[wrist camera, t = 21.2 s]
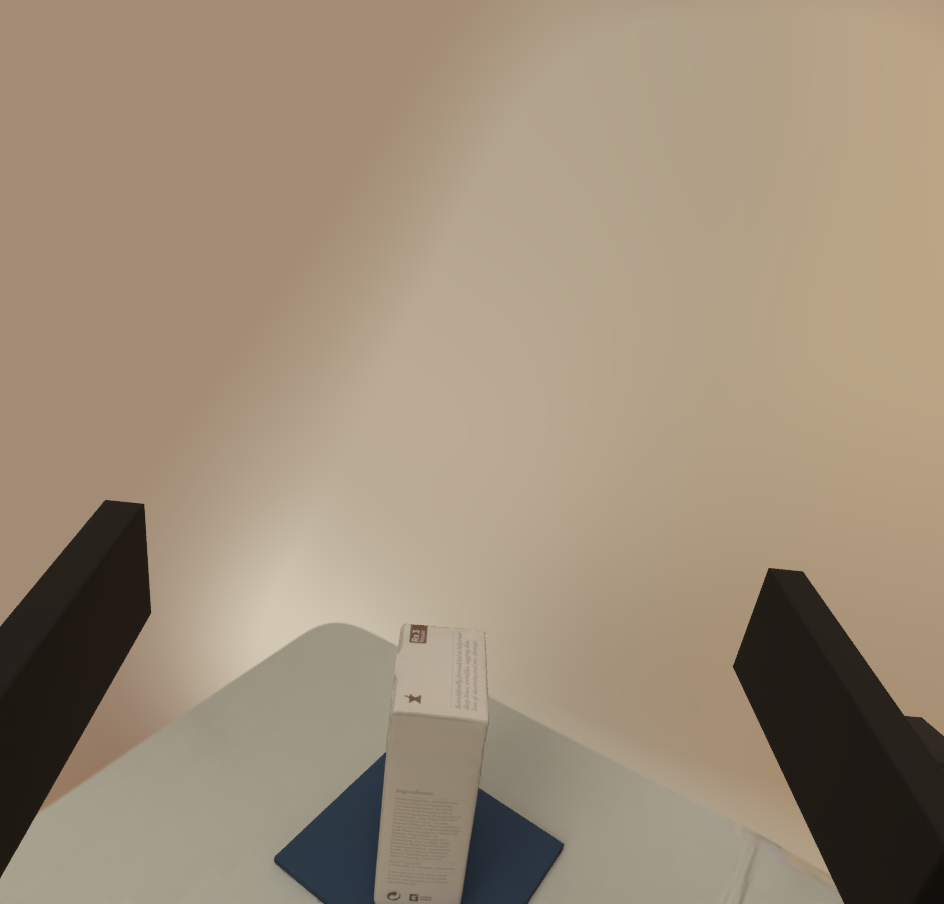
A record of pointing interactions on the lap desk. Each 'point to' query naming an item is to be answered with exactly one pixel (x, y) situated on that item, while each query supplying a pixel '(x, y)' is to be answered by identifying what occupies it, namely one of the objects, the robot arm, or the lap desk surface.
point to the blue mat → (357, 836)
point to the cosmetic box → (432, 765)
